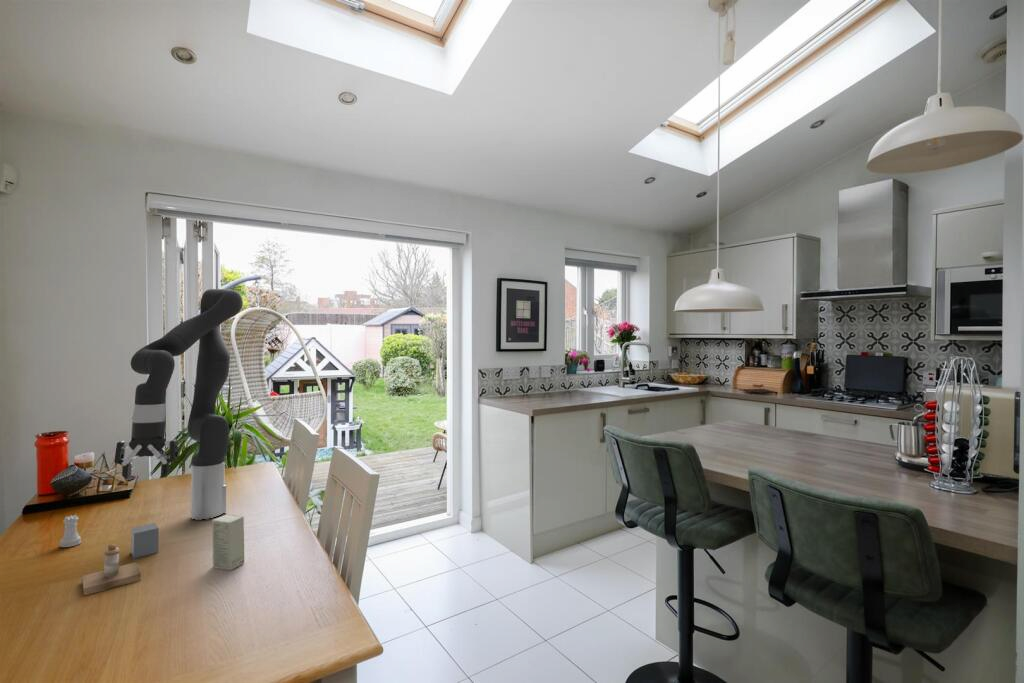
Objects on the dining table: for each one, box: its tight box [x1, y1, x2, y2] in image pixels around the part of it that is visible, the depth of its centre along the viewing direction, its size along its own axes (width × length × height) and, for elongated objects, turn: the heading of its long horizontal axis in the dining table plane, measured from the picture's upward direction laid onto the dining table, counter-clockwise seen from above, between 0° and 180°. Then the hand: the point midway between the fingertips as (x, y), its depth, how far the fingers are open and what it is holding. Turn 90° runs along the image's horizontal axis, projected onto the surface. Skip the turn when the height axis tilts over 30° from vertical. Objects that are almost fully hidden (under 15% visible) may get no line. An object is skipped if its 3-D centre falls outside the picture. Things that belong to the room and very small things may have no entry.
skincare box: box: [211, 513, 245, 571], centre depth 120 cm, size 6×4×12 cm
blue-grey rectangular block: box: [130, 522, 160, 559], centre depth 127 cm, size 5×5×7 cm
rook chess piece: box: [59, 514, 82, 548], centre depth 132 cm, size 4×4×8 cm
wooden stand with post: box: [81, 543, 142, 596], centre depth 112 cm, size 10×8×9 cm
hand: (145, 477), depth 133 cm, fingers open, 8 cm apart
